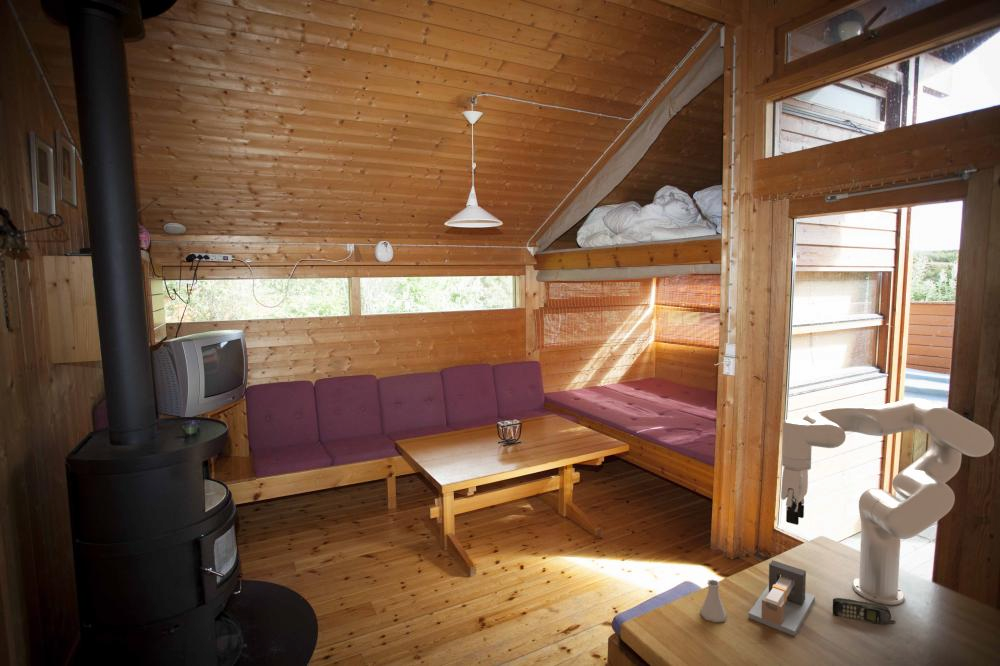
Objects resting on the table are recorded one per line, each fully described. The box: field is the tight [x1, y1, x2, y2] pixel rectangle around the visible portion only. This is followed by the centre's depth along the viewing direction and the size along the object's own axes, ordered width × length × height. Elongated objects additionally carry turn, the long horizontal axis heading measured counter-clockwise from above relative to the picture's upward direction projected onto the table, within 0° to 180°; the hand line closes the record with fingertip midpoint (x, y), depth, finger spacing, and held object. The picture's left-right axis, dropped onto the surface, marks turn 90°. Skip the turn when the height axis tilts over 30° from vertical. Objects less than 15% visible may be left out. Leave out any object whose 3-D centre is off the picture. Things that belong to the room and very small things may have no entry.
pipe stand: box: [748, 575, 816, 637], centre depth 155 cm, size 20×12×8 cm, turn 136°
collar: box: [768, 559, 807, 604], centre depth 157 cm, size 3×9×9 cm, turn 46°
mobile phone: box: [832, 597, 896, 625], centre depth 149 cm, size 5×3×15 cm
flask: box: [699, 579, 728, 623], centre depth 154 cm, size 7×7×10 cm
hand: (795, 519), depth 160 cm, fingers open, 4 cm apart
